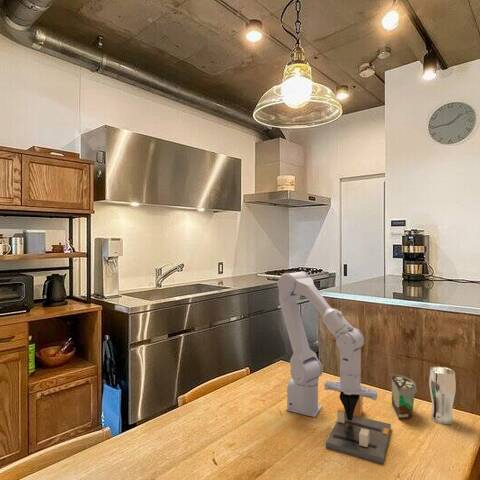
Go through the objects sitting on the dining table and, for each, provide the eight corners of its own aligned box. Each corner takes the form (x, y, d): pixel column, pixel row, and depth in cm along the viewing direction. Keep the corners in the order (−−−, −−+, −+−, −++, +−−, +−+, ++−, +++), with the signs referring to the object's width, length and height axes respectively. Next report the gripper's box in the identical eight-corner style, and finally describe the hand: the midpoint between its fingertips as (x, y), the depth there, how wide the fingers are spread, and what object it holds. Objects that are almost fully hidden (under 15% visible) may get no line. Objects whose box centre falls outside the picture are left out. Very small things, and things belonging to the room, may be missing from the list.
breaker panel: (325, 447, 93) (325, 441, 93) (341, 417, 109) (341, 411, 109) (382, 464, 86) (382, 457, 86) (390, 429, 102) (390, 423, 102)
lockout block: (347, 414, 111) (347, 394, 111) (349, 408, 115) (349, 390, 114) (360, 417, 109) (360, 397, 109) (362, 411, 113) (362, 392, 113)
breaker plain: (359, 445, 91) (359, 433, 91) (361, 439, 94) (361, 428, 94) (367, 447, 90) (367, 435, 90) (369, 441, 93) (369, 430, 93)
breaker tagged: (337, 421, 103) (337, 410, 103) (339, 416, 106) (339, 405, 106) (344, 423, 102) (344, 411, 102) (346, 418, 105) (346, 407, 105)
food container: (422, 424, 105) (422, 390, 105) (399, 422, 106) (400, 388, 106) (410, 404, 117) (410, 374, 117) (390, 403, 118) (391, 373, 118)
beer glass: (452, 416, 110) (452, 367, 110) (458, 427, 103) (458, 376, 103) (427, 412, 112) (427, 365, 112) (431, 423, 106) (431, 373, 105)
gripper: (321, 371, 103) (321, 418, 103) (374, 381, 96) (374, 431, 96) (328, 364, 109) (327, 408, 109) (378, 373, 102) (378, 420, 102)
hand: (349, 418), depth 103 cm, fingers closed
